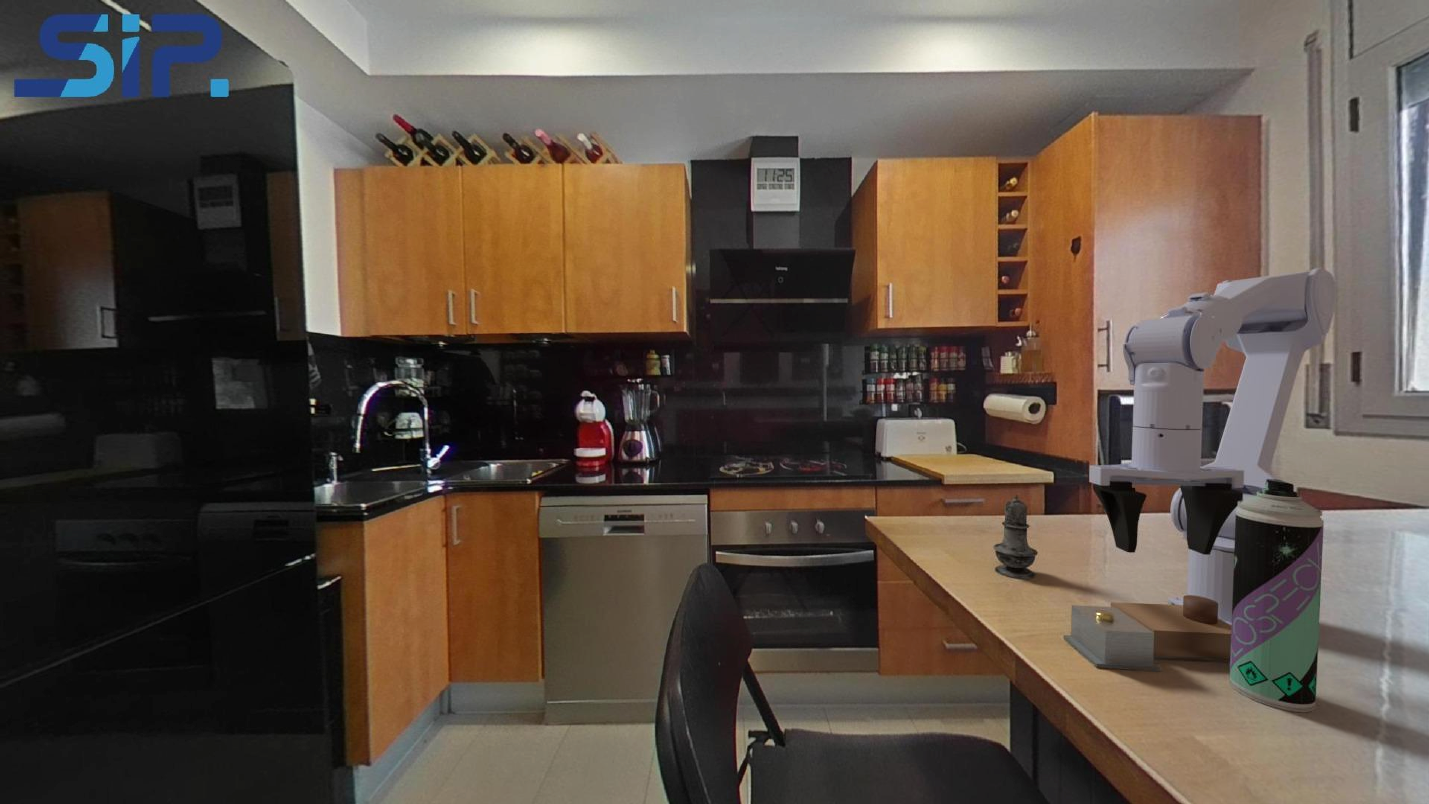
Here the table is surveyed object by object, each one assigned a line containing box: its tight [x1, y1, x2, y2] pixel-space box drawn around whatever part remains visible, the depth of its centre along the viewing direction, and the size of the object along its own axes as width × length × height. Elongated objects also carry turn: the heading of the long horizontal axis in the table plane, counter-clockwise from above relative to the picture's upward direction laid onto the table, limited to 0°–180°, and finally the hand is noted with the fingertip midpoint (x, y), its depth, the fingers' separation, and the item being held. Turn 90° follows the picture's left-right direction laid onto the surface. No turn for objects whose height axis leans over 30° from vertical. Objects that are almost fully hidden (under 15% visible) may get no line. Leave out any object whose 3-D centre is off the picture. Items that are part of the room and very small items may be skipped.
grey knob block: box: [1070, 604, 1154, 667], centre depth 55 cm, size 4×6×4 cm
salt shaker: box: [992, 493, 1039, 580], centre depth 79 cm, size 6×6×12 cm
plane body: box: [1110, 594, 1231, 663], centre depth 58 cm, size 9×7×5 cm
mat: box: [1063, 634, 1162, 672], centre depth 56 cm, size 6×6×1 cm
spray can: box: [1229, 479, 1325, 713], centre depth 48 cm, size 6×6×20 cm
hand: (1161, 550), depth 57 cm, fingers open, 7 cm apart
